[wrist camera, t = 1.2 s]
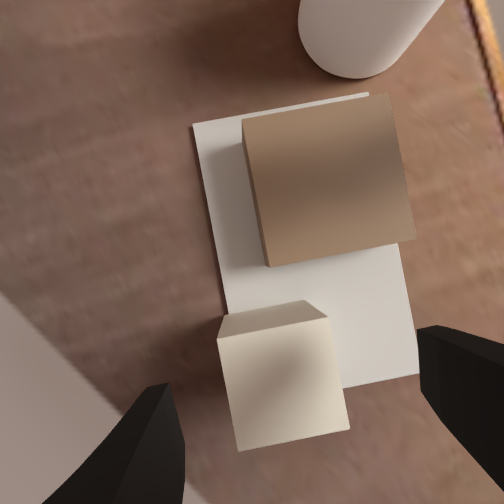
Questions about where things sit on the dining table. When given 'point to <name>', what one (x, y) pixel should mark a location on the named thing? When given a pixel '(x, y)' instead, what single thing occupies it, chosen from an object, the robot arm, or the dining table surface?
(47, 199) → the dining table surface
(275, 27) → the dining table surface
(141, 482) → the robot arm
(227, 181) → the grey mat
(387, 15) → the can
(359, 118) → the brown block
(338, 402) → the cream block
